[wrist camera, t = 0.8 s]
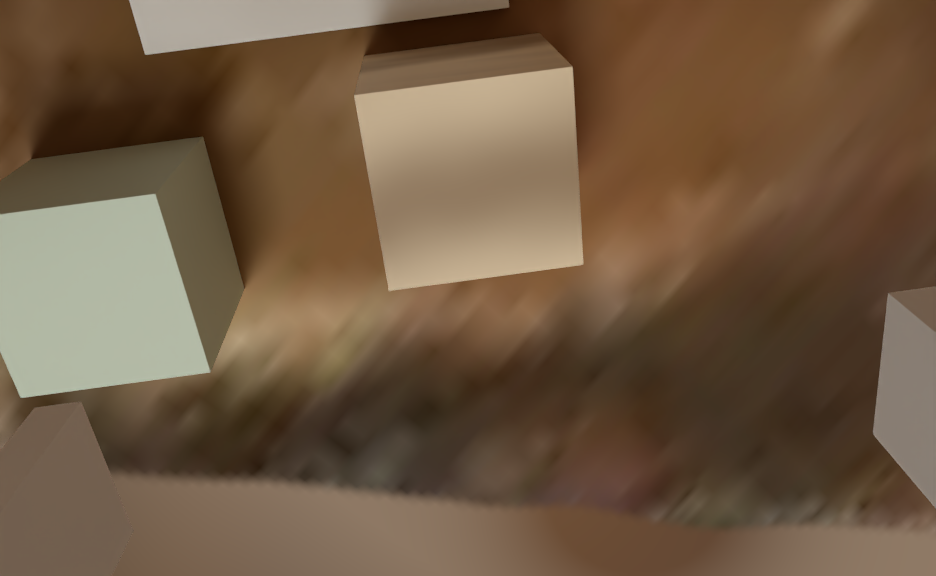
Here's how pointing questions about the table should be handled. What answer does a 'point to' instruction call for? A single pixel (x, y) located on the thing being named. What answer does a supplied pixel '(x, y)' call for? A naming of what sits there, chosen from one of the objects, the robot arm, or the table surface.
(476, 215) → the maple cube
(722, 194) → the table surface
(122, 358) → the sage cube
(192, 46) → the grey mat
